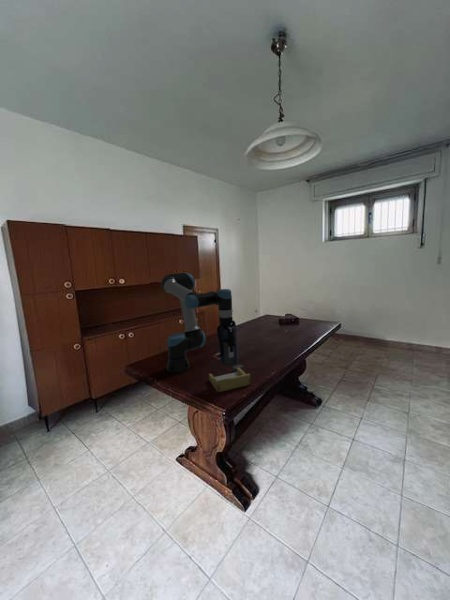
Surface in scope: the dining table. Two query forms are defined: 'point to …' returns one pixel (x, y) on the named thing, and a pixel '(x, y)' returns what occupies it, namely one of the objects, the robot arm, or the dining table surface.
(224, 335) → the beverage bottle
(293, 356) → the dining table surface
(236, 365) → the gray rectangular block
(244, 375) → the dock bay
